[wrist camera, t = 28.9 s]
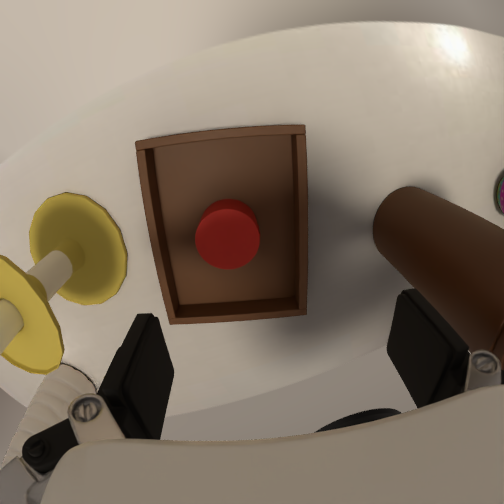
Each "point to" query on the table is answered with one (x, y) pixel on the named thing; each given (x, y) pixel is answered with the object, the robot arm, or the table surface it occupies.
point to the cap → (227, 234)
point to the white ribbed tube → (49, 406)
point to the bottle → (448, 262)
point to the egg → (501, 195)
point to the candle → (58, 278)
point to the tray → (228, 187)
